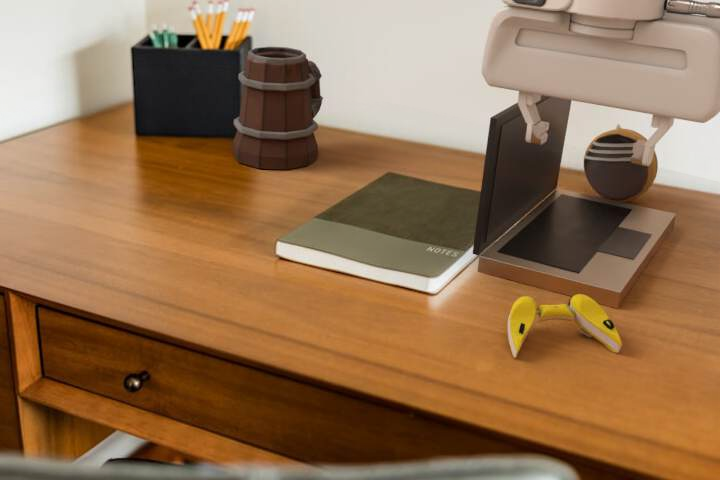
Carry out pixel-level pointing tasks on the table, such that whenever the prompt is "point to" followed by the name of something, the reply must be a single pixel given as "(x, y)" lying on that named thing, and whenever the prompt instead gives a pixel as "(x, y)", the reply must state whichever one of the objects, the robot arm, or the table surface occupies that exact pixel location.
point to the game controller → (577, 310)
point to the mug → (278, 109)
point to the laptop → (580, 246)
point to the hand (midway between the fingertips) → (587, 152)
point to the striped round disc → (617, 166)
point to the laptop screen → (518, 168)
